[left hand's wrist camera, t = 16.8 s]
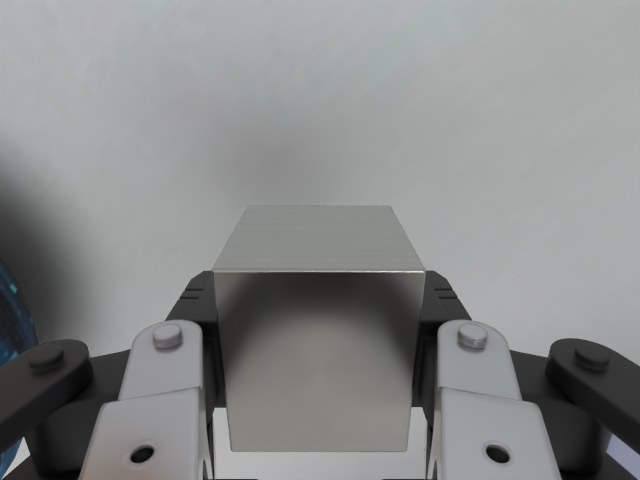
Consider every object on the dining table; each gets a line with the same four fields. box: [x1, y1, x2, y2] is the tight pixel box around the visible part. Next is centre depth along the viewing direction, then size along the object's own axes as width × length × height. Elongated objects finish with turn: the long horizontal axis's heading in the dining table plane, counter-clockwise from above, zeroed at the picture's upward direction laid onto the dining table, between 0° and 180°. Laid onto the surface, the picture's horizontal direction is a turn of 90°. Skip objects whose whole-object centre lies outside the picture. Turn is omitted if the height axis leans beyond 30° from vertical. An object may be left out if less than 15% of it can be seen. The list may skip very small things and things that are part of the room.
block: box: [211, 206, 426, 452], centre depth 10 cm, size 4×5×4 cm
